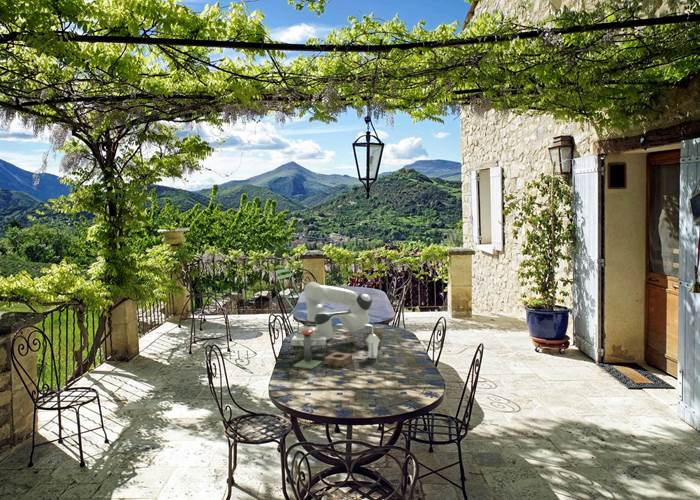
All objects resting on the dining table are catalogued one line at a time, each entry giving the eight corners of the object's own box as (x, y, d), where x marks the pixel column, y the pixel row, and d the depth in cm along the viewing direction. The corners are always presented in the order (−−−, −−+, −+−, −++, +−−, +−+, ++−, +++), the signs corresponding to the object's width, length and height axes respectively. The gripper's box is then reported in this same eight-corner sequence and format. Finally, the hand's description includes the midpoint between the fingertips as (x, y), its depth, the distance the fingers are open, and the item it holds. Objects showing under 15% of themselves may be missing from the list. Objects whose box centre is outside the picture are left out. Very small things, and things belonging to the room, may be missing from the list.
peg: (300, 360, 302) (299, 331, 300) (308, 358, 307) (307, 328, 305) (307, 363, 298) (306, 332, 296) (316, 360, 302) (315, 330, 300)
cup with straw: (376, 360, 307) (375, 326, 305) (362, 358, 311) (361, 324, 309) (382, 356, 314) (381, 323, 312) (369, 354, 319) (368, 321, 317)
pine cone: (383, 343, 341) (383, 328, 340) (384, 347, 331) (384, 332, 330) (349, 344, 341) (349, 329, 340) (349, 348, 332) (348, 333, 331)
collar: (324, 364, 301) (324, 357, 301) (334, 358, 312) (334, 352, 311) (343, 367, 296) (342, 360, 295) (352, 360, 306) (352, 354, 306)
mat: (293, 366, 300) (293, 364, 300) (304, 360, 310) (304, 358, 310) (311, 368, 294) (311, 367, 294) (322, 362, 305) (322, 361, 305)
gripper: (327, 343, 314) (325, 349, 300) (293, 343, 315) (290, 350, 301) (327, 332, 314) (325, 339, 300) (292, 333, 314) (289, 339, 300)
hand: (307, 344), depth 300 cm, fingers closed on peg, 4 cm apart
